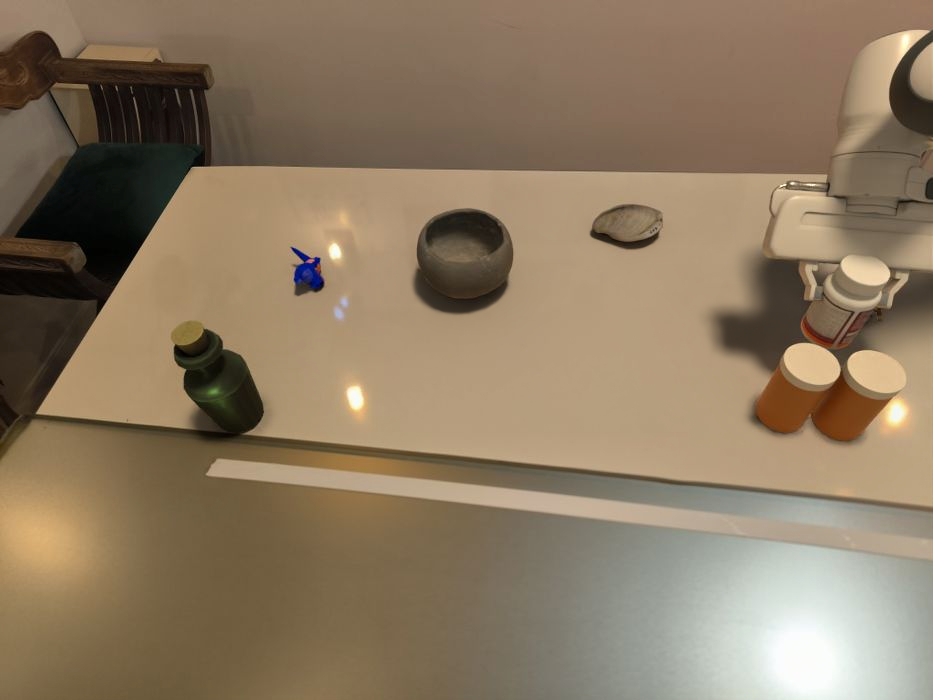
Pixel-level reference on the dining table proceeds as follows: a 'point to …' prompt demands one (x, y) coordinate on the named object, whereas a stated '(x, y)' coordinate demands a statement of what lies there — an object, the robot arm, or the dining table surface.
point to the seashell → (629, 222)
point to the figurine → (308, 270)
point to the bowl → (465, 252)
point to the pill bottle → (845, 301)
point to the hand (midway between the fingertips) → (846, 304)
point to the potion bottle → (216, 378)
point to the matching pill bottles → (829, 390)
